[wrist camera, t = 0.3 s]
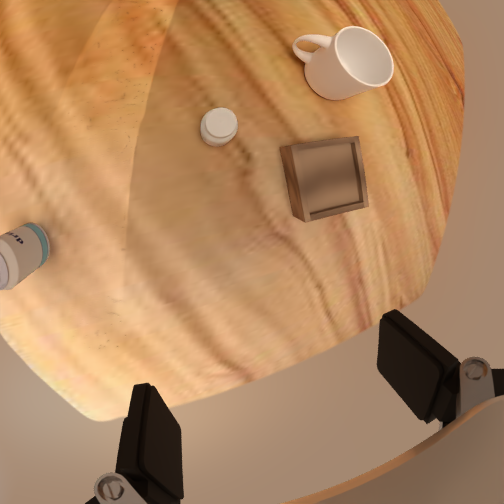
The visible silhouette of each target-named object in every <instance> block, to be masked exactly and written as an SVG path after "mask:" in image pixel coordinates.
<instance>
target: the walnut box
mask: <svg viewBox="0 0 504 504" xmlns="http://www.w3.org/2000/svg"><path fill="white" fill-rule="evenodd" d="M280 152H281V157H282V162H283V167H284V172H285V176H286V181H287V187H288V192H289V197H290V202H291V207H292V213H293V216H294V217H296V218H298V219H300V220H302V221H303V222H309V221H313V220H317V219H321V218H325V217H329V216H333V215H337V214H341V213H345V212H349V211H353V210H357V209H361V208H365V207H369V203H368V194H367V186H366V179H365V172H364V165H363V159H362V153H361V147H360V142H359V136H354V137H346V138H337V139H329V140H322V141H315V142H308V143H302V144H296V145H290V146H285V147H280Z"/></svg>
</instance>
